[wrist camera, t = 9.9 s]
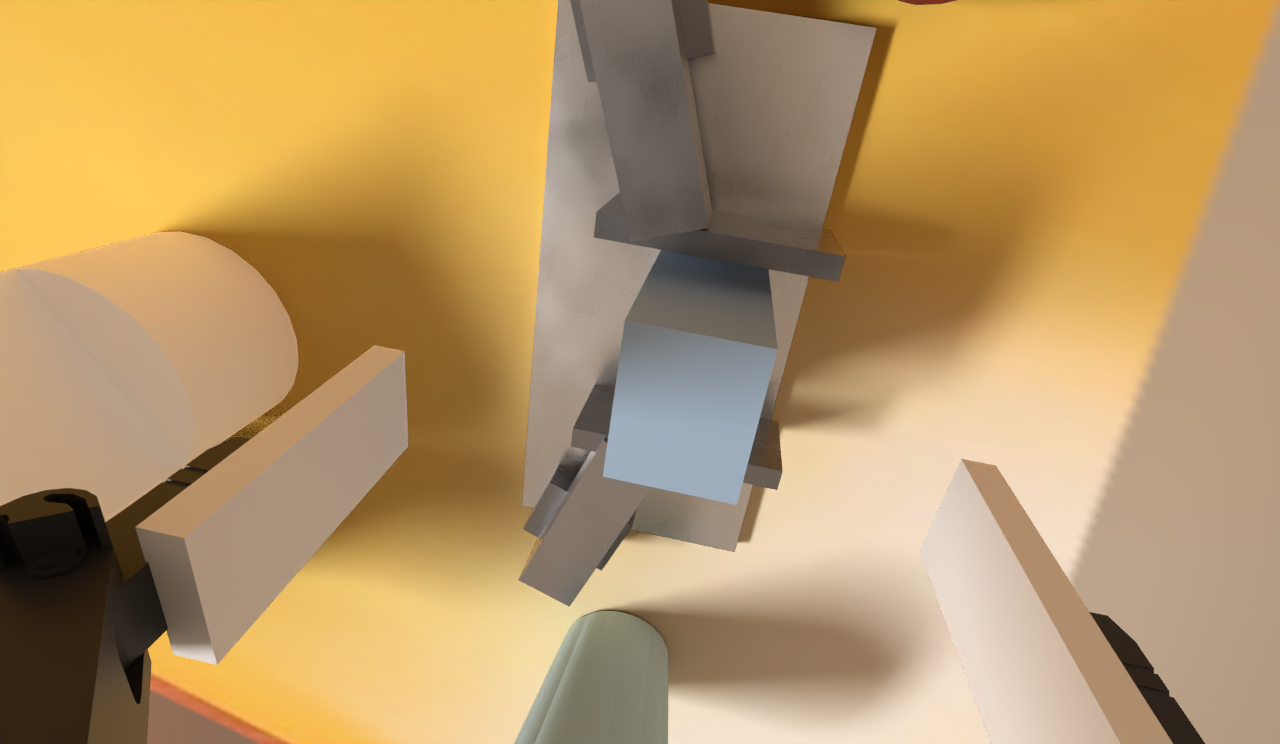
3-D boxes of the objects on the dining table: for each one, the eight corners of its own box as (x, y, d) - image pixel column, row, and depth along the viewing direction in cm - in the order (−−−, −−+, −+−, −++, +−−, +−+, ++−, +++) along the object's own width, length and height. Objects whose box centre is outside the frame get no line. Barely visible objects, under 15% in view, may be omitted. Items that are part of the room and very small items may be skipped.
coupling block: (739, 390, 25) (736, 505, 18) (641, 371, 25) (602, 476, 18) (768, 270, 23) (777, 349, 16) (660, 250, 23) (624, 320, 16)
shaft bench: (568, -71, 20) (524, -109, 16) (897, -24, 19) (937, -53, 15) (524, 522, 30) (490, 588, 26) (734, 568, 29) (732, 644, 25)
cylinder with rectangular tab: (336, 378, 28) (86, 559, 18) (205, 440, 31) (-80, 628, 20) (206, 195, 26) (-186, 276, 15) (75, 280, 28) (-336, 401, 18)
